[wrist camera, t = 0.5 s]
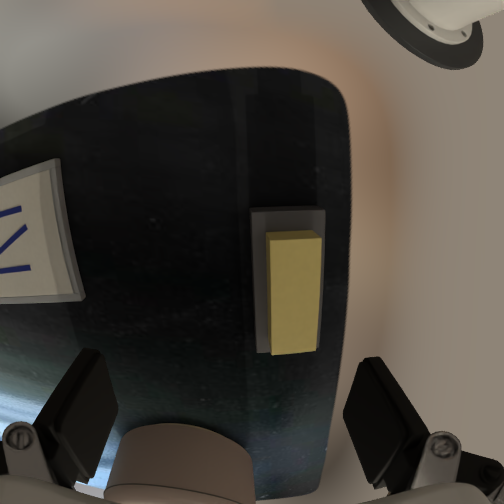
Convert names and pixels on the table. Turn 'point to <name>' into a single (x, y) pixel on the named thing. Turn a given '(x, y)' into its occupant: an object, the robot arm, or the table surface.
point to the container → (180, 468)
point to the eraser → (287, 277)
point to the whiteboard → (36, 238)
